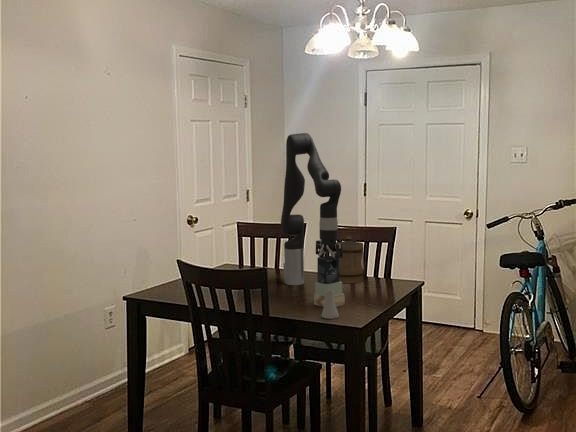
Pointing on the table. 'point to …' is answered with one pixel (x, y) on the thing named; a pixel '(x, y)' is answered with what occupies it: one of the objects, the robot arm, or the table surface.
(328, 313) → the flask
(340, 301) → the tower base
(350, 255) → the wooden container
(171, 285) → the table surface
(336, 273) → the box
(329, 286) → the tower top
